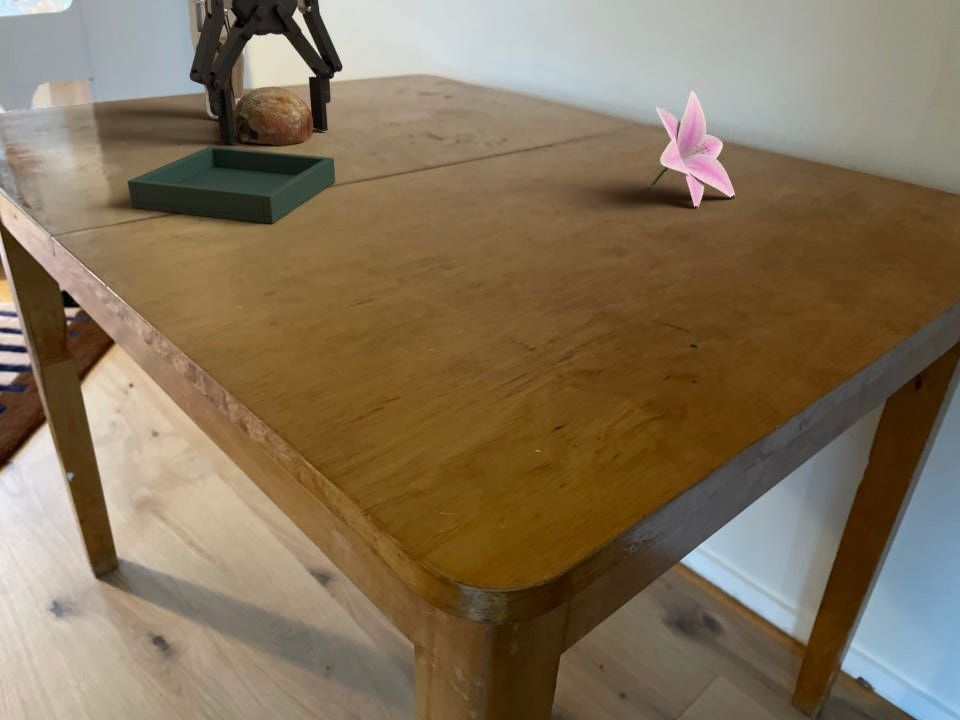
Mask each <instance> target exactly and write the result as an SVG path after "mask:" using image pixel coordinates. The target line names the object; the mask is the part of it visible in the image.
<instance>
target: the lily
mask: <svg viewBox="0 0 960 720" xmlns="http://www.w3.org/2000/svg"><path fill="white" fill-rule="evenodd" d="M655 109H656V110H655V111H657V112H656V113H657V114H658V116H659V118H660V120H661V122H662V123H663V126H664V128H665V129H666V132H667V133H668V136H669V138H670V142H669V143H668V145H667V146H666V147H665V149H664V151H663V152H662V154H661V156H660V159H659V162H660V164H661V165H662V166H664V167H665V168H663V169H662V170H661V172H659V174H658V175H657V176H656V178H655V179H654V180H653V181H652V182H651V184H650V185H651V186H653V187H654V186H655V185H656V183H657V182H658V181H659V180H660V178H661V177H662V176H663V175H664V174H665V172H667V171H668V170H669V169H670V170H673V171H678V172H681V173H683V174H684V176H685V178H686V182H687V186H688V189H689V192H690V196H691V200H692V202H693V206H694V207H695V206H698V207H699V206H700V204H701V201H702V199H703V195H704V192H705V184H707V185H708V186H711V187H713V188H715V189H716V190H718V191H720V192H721V193H723V194H724V195H726V196H728V197H729V198H731V196H733V195H735V196H736V194H735V190H734V186H733V185H732V182H731V179H730V177H729V175H728V173H727V171H726V169H725V168H724V166H723V164H722V163H721V162H720V161H719V160H718V159H717V158H718V157H719V156H720V154H721V152H722V150H723V148H724V144H723V143H724V142H723V141H722V140H720V138H718V137H716V136H713V135H711V134H708V133H707V122H706V116H705V114H704V111H703V107H702V104H701V102H700V100H699V97H698V95H697V94H696V92H695V91H694V90H693V91H691V92H690V94H689V96H688V100H687V104H686V107H685V110H684V112H683V115H682V118H681V121H680V120H679V119H678V118H677V117H676V116H675V115H674V114H672V113H670V112H669V111H667V110H666V109H664V108H662V107H659V106H656V107H655Z"/></svg>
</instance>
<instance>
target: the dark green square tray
mask: <svg viewBox="0 0 960 720" xmlns="http://www.w3.org/2000/svg"><path fill="white" fill-rule="evenodd" d="M335 168H336V167H335V158H334V157H326V156H316V155H305V154H294V153H285V152H274V151H265V150H264V151H263V150H253V149H245V148H244V149H242V148H235V147H222V146H212V145H210V146H207V147H205V148H202V149H200V150H198V151H196V152H193V153H190V154H188V155H186V156H184V157H181V158H178V159H177V160H174V161H172V162H170V163H167V164H164V165H163V166H159V167H157V168H155V169H152V170H150V171H148V172H146V173H144V174H141V175H139V176H136V177H134V178H132V179H129V180H127V187H128V192H129V197H130V201H131V202H130V203H131V208H132V209H141V210H149V211H157V212H167V213H174V214H176V213H177V214H183V215H192V216H202V217H208V218H209V217H210V218H218V219H228V220H237V221H244V222H253V223H254V222H256V223H261V224H269V225H270V224H271V225H273V224H275V223H276V222H278V221H279V220H282V219H283V218H284V217H285V216H287V215H288V214H290V213H291V212H293V211H294V210H296V209H298V208H299V207H300V206H302V205H304V204H305V203H306V202H308V201H309V200H311V199H312V198H314V197H315V196H317V195H318V194H320V193H321V192H323V191H324V190H326V189H327V188H329V187H330V186H332V185H333V184H334V183H336V171H335Z"/></svg>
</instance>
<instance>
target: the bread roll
mask: <svg viewBox="0 0 960 720" xmlns="http://www.w3.org/2000/svg"><path fill="white" fill-rule="evenodd" d="M233 119H234V128H235V136H236V137H237V138H238V139H240V142H242V143H250V144H259V145H267V144H268V145H270V146H281V147H282V146H289V145H290V146H291V145H295V144H300V143H304V142H306V141H307V140H309V139H311V137H312V136H313V131H314V128H313V118H312V114H311V108H309V106H308V105H307V103H305V102H304V100H302V99H301V98H300V97H299V96H297V95H296V94H295V93H293V92H292V91H289V90H288V89H285V88H281V87H279V86H278V87H277V86H265V87H259V88H256V89H253V90H251V91H249V92H248V93H244V96H243V97H242V98H241V99H240V100H239V101H238V103H237V105H236V108H235V110H234V115H233Z"/></svg>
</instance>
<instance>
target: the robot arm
mask: <svg viewBox="0 0 960 720" xmlns="http://www.w3.org/2000/svg"><path fill="white" fill-rule="evenodd" d="M229 9H230V10H231V11H232V12H233V14H234V15H235V16H236V19H235V21H234V23H233V25H232V27H231V29H230V34H229V36H228V38H227V40H226V41H225V43H224V45H223V47H222V49H221V50H220V52H219V54H218V56H217V58H216V59H215V61H214V63H213V60H214V57H215V53H216V50H217V46H218V42H219V39H220V35H221V31H222V28H223V24H224V17H226V16H227V14H228V10H229ZM296 10H298V11H299V13H300V14H301V15H302V19H303V20H304V23H305V25H306V27H307V29H308V32H309V35H310V36H311V38H312V40H313V43H314V45H315V47H316V49H317V50H316V49H315V48H314V47H313V45H312V44H311V42H310V41H309V40H308V38H307V37H306V36H305V35H304V33H303V32H302V28H301V26H299V24H298V23H297V21H296V20H295V19H294V18H293V16H294V14H295V12H296ZM269 34H272V35H276V36H278V35H283V36H284V37H285V38H286V39H287V41H288V42H289V43H290V45H291V46H292V47H293V48H294V50H295V51H296V53H298V55H299V56H300V58H302V60H303V61H304V62H305V64H306V65H307V67H308V68H309V69H310V70H311V71H312V74H313V75H315V76H308V87H309V88H308V89H309V100H310V101H309V102H310V111H311V114H312V118H313V129H315V130H319V131H322V132H326V131H328V130H329V128H328V126H329V125H328V112H327V111H328V109H327V104H330V103H331V99H332V97H331V82H330V81H331V80H332V79H334V77H335V74H336V73H340V72H342V71H343V67H344V66H343V64H342V60H341V59H340V56H339V55H338V52H337V50H336V47H335V45H334V42H333V40H332V38H331V35H330V34H329V31H328V29H327V27H326V24H325V22H324V19H323V17H322V15H321V10H320V4H319V0H205V20H204V23H203V27H202V31H201V34H200V38H199V42H198V45H197V49H196V53H194V57H193V61H192V64H191V68H190V71H189V79H190V81H192V82H194V83H197V84H200V85H203V86H204V85H205V86H206V87H207V90H208V97H209V104H210V111H211V112H212V114H213V115H216V116H218V120H217V121H218V126H219V127H218V128H219V136H220V141H221V142H224V143H226V144H229V145H236V144H237V135H236V130H235V126H234V119H233V111H232V103H231V94H230V89H229V88H226V87H223V85H224V83H225V81H226V79H227V77H228V76H229V74H230V72H231V70H232V68H233V67H234V65H235V63H236V61H237V59H238V58H239V56H240V54H241V52H242V50H243V49H244V47H245V48H246V45H247V43H248V42H249V41H250V40H252V38H253V36H257V37H258V36H259V37H260V36H267V35H269ZM317 51H318V52H317ZM212 64H213V65H212Z"/></svg>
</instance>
